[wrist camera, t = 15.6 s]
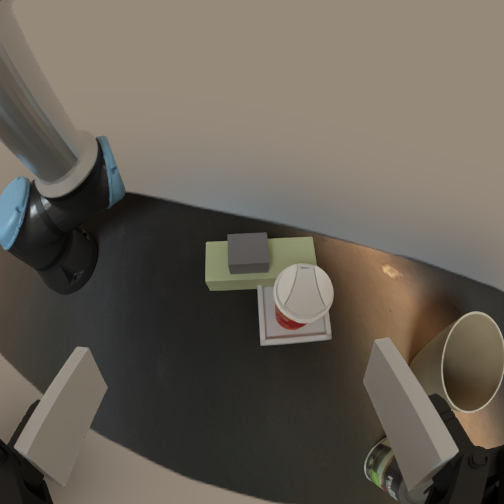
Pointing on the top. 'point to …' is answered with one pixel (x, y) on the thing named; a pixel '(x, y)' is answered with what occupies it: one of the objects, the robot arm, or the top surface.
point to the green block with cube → (263, 279)
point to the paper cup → (301, 295)
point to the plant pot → (463, 363)
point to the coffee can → (391, 475)
